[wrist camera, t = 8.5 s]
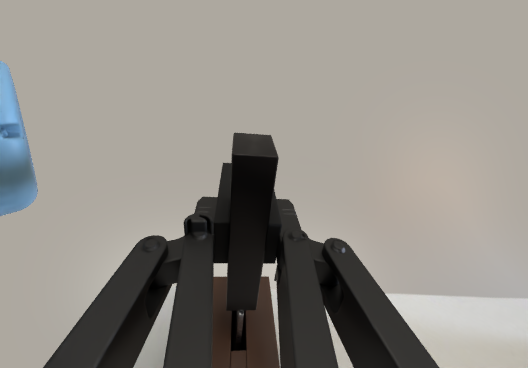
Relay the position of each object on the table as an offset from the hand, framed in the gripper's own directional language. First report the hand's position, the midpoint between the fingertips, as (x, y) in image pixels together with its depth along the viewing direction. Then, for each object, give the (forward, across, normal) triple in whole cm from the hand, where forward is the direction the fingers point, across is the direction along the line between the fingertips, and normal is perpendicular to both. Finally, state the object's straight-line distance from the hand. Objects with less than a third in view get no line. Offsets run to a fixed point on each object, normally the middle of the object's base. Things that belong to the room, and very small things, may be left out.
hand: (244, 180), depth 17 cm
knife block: (-6, 0, -18) cm, 19 cm away
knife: (-6, 0, -18) cm, 19 cm away
